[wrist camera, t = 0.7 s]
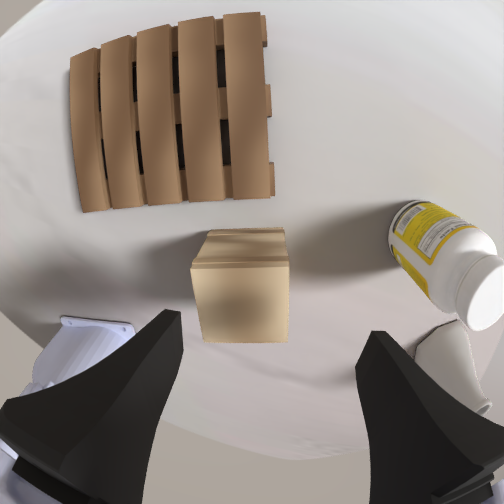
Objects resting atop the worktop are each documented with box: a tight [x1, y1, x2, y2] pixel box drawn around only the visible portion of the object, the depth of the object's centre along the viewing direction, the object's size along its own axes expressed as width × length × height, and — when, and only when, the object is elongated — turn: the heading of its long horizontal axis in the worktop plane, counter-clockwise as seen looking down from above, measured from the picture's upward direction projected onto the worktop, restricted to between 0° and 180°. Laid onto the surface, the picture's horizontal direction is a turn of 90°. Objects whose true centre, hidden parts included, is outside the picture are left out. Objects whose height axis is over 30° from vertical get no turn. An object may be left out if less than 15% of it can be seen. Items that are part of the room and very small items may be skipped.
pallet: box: [70, 12, 275, 213], centre depth 15 cm, size 14×12×2 cm
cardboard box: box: [190, 227, 289, 343], centre depth 18 cm, size 5×5×6 cm
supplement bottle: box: [388, 200, 504, 331], centre depth 14 cm, size 5×5×10 cm
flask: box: [414, 320, 492, 416], centre depth 19 cm, size 7×7×10 cm
